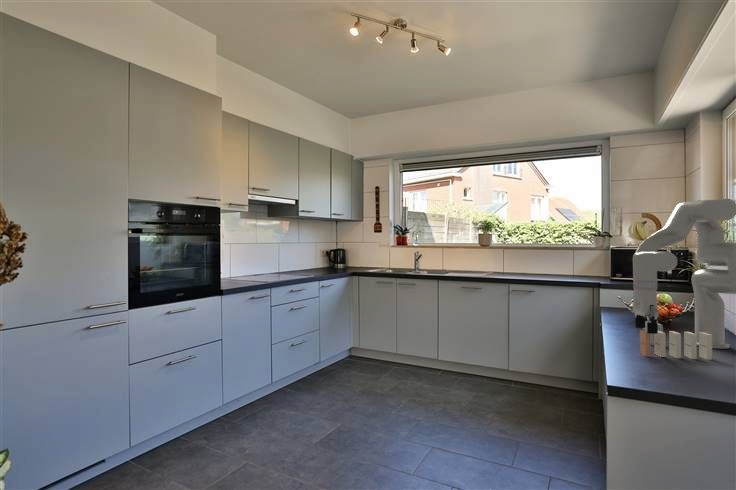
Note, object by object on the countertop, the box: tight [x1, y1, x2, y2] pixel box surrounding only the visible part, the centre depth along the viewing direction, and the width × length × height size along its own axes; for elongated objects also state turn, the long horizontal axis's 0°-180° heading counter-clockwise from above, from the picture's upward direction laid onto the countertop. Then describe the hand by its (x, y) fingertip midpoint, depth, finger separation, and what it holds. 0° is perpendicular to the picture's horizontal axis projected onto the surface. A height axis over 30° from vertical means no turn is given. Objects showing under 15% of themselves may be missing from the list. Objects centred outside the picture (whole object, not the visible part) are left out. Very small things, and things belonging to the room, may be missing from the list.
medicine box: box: [642, 321, 664, 346], centre depth 173 cm, size 8×4×9 cm, turn 168°
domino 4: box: [683, 331, 698, 360], centre depth 151 cm, size 2×5×9 cm, turn 169°
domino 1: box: [639, 329, 652, 358], centre depth 154 cm, size 2×5×9 cm, turn 169°
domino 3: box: [668, 330, 682, 359], centre depth 152 cm, size 2×5×9 cm, turn 168°
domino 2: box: [653, 331, 667, 358], centre depth 153 cm, size 2×5×9 cm, turn 169°
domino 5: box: [698, 332, 713, 361], centre depth 150 cm, size 2×5×9 cm, turn 168°
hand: (646, 330), depth 155 cm, fingers open, 9 cm apart
